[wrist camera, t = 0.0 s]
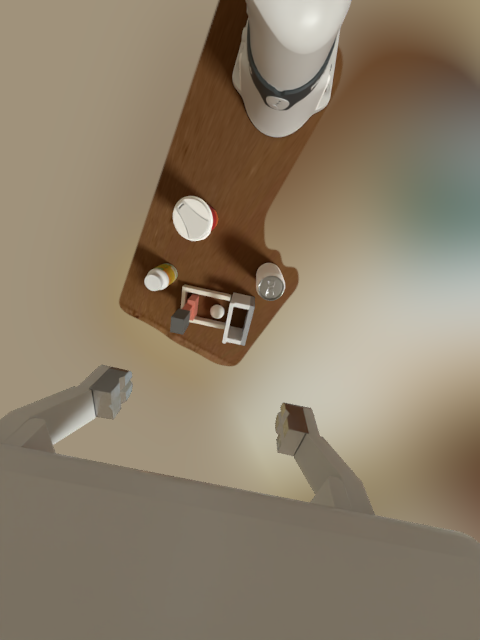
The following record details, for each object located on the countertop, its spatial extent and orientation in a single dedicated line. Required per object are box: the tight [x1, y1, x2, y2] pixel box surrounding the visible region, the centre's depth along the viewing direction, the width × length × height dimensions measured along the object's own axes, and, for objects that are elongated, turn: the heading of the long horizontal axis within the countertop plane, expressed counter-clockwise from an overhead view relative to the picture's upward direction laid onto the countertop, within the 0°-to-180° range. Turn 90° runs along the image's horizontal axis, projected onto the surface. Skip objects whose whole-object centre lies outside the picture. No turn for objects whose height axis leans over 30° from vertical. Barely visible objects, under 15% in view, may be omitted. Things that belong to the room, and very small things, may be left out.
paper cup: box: [173, 196, 218, 241], centre depth 45 cm, size 8×8×14 cm
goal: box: [222, 292, 255, 346], centre depth 58 cm, size 12×6×8 cm, turn 168°
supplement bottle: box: [144, 263, 177, 291], centre depth 54 cm, size 5×5×10 cm
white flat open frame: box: [181, 284, 231, 329], centre depth 61 cm, size 10×13×2 cm
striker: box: [170, 294, 199, 334], centre depth 55 cm, size 6×3×14 cm, turn 168°
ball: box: [210, 305, 224, 319], centre depth 60 cm, size 4×4×4 cm
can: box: [256, 263, 285, 301], centre depth 51 cm, size 6×6×12 cm
